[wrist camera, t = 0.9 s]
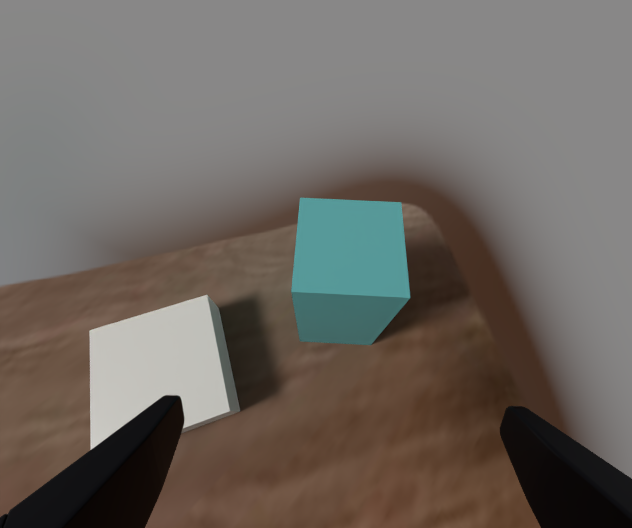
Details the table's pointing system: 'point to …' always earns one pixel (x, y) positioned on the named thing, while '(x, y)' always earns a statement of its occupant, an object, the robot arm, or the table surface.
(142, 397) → the base brick
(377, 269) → the tall brick
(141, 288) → the table surface
